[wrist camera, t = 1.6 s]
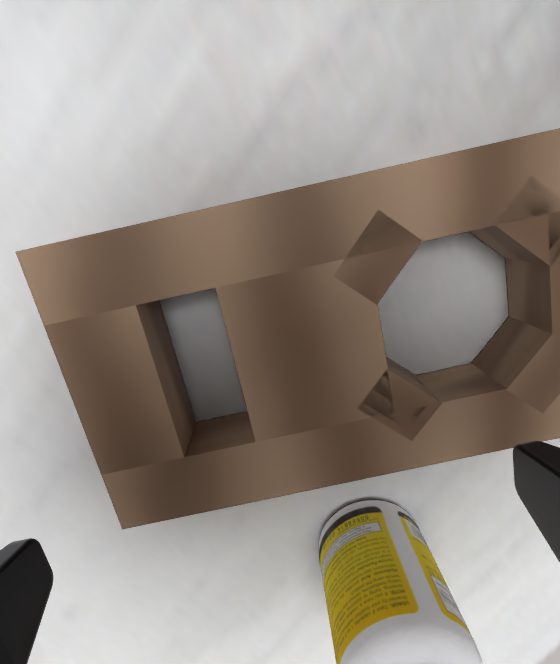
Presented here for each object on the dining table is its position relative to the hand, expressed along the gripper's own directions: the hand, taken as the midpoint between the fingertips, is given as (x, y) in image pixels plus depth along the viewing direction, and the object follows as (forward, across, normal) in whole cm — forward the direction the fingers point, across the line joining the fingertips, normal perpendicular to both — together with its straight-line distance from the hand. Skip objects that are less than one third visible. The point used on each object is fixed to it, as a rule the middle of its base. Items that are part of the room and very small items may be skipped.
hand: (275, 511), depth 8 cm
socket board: (+12, -2, 0) cm, 12 cm away
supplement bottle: (+12, -3, +12) cm, 17 cm away
